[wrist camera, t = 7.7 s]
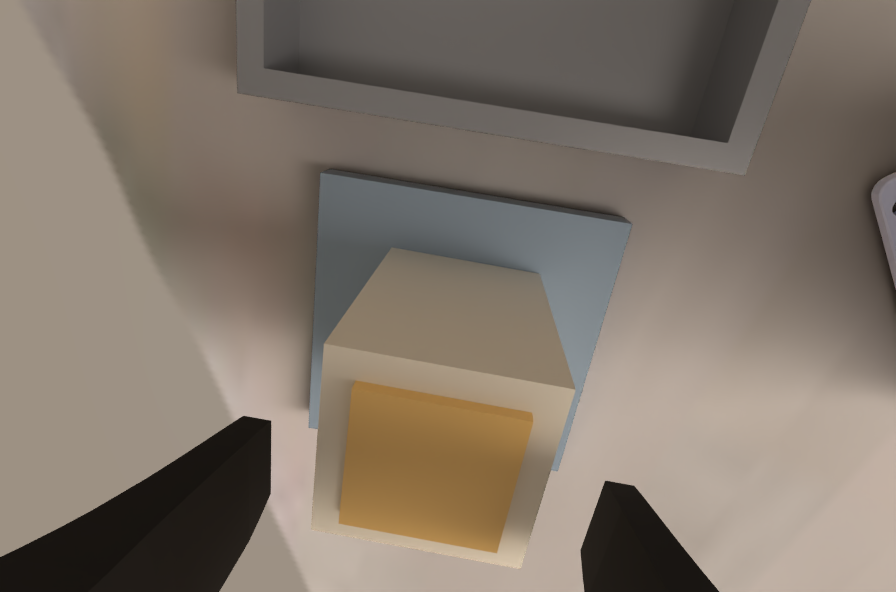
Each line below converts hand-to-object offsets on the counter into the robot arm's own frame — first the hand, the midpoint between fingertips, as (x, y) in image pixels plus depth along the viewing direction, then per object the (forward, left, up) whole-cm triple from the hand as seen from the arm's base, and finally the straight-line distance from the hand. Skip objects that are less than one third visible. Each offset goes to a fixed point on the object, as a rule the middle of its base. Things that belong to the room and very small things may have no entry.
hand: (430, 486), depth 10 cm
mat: (0, 0, -8) cm, 8 cm away
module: (0, 0, -7) cm, 7 cm away
